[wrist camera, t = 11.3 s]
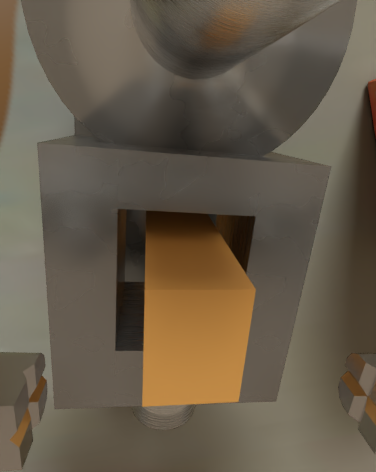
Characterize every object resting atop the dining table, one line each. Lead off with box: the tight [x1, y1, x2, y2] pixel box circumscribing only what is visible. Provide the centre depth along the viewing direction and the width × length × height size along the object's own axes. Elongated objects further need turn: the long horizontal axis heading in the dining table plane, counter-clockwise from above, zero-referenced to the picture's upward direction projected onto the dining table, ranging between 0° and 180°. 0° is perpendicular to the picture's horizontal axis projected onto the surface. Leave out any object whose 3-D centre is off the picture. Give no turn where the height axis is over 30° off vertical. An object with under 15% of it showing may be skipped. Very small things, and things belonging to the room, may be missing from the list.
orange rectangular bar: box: [142, 210, 256, 407], centre depth 16 cm, size 3×4×14 cm
